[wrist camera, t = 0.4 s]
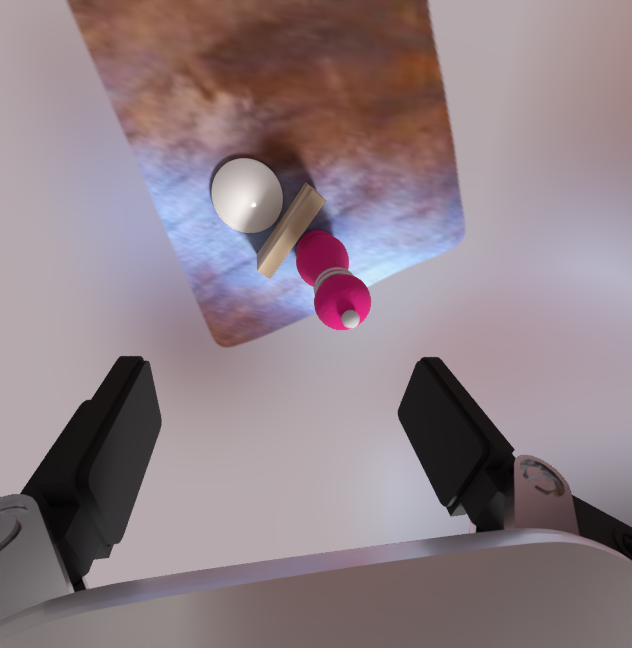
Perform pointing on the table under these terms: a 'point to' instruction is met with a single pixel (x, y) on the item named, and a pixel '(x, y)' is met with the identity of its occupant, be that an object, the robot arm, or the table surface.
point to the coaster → (247, 195)
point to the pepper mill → (332, 281)
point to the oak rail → (289, 229)
